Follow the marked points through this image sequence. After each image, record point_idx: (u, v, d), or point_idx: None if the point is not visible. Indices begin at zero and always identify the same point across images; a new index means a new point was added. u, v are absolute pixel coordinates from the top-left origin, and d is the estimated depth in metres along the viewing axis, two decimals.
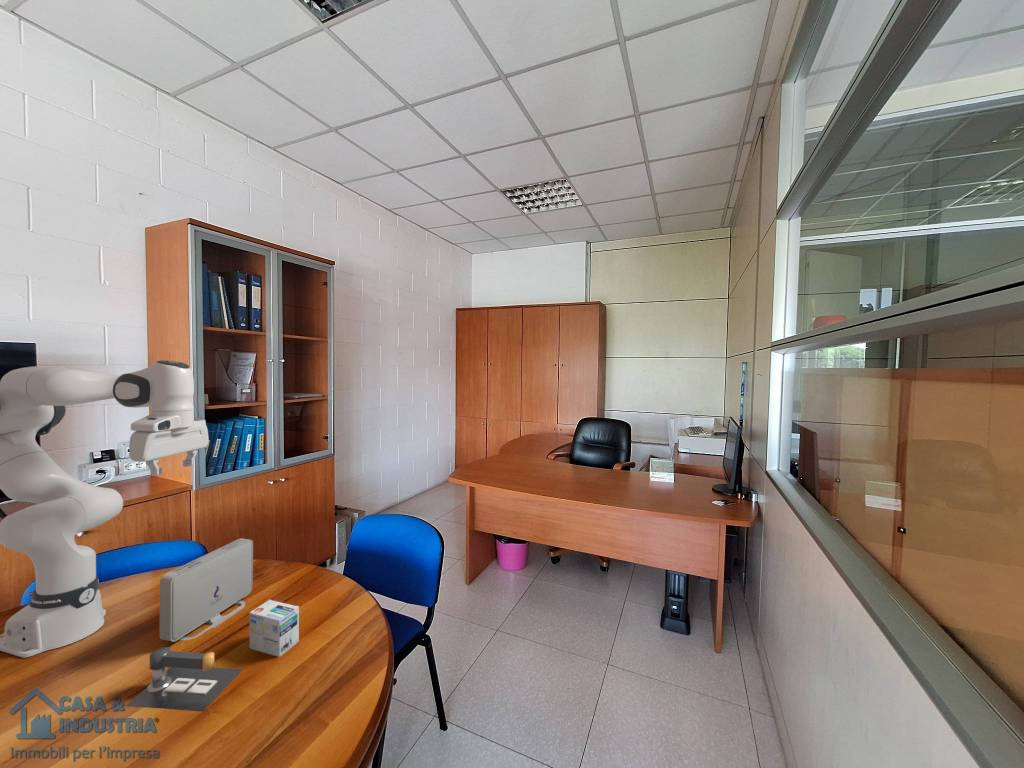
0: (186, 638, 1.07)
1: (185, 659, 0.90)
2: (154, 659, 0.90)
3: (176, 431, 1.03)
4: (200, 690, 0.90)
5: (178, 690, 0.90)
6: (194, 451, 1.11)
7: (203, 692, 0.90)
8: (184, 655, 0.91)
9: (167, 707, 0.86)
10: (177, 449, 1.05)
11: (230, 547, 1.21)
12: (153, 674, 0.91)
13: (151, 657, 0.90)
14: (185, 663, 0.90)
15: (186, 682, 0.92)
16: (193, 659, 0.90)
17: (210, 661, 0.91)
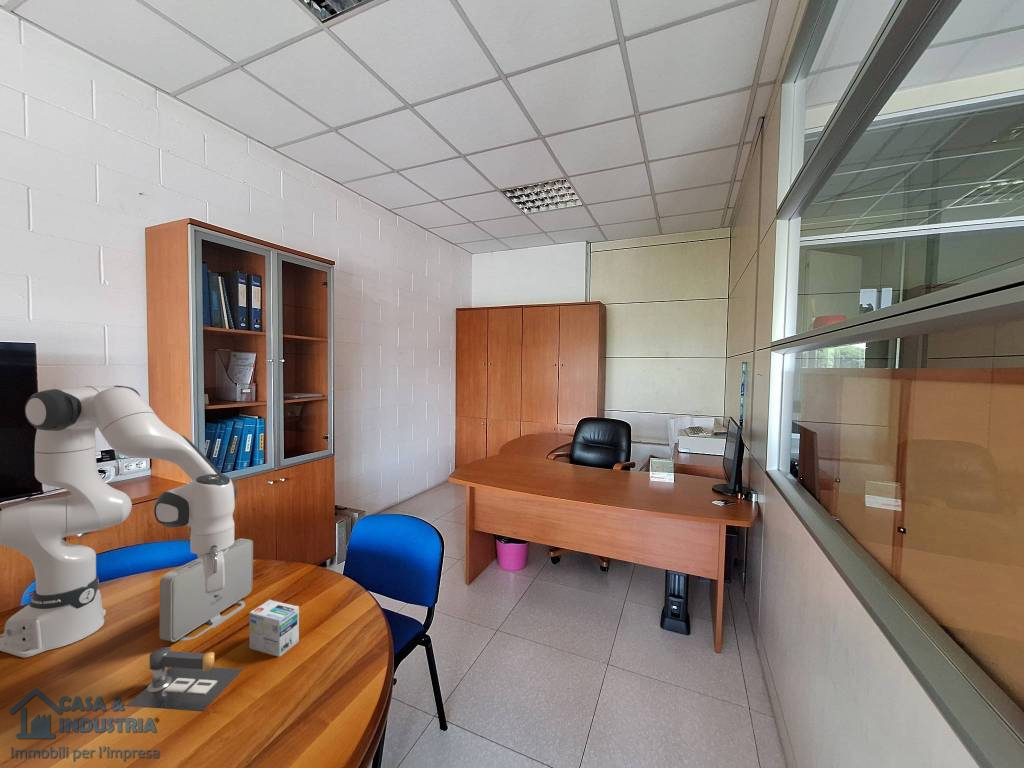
0: (186, 638, 1.07)
1: (185, 659, 0.90)
2: (154, 659, 0.90)
3: None
4: (200, 690, 0.90)
5: (178, 690, 0.90)
6: None
7: (203, 692, 0.90)
8: (184, 655, 0.91)
9: (167, 707, 0.86)
10: (203, 571, 0.97)
11: (230, 547, 1.21)
12: (153, 674, 0.91)
13: (151, 657, 0.90)
14: (185, 663, 0.90)
15: (186, 682, 0.92)
16: (193, 659, 0.90)
17: (210, 661, 0.91)
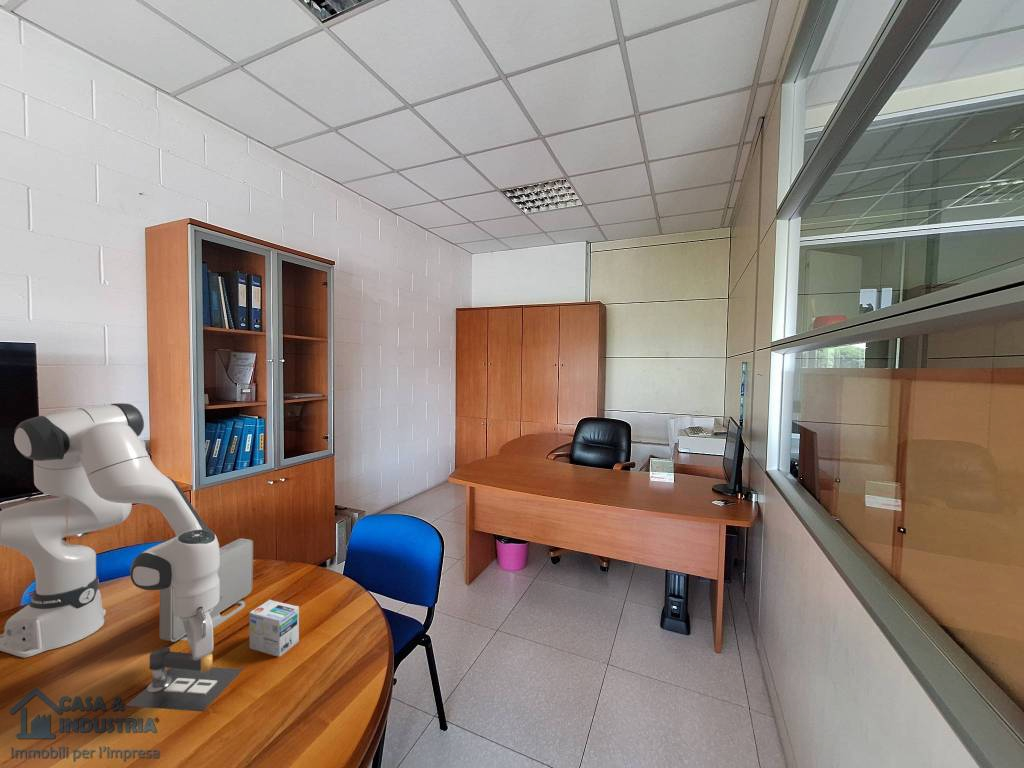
0: (186, 638, 1.07)
1: (183, 660, 0.90)
2: (153, 659, 0.90)
3: None
4: (200, 690, 0.90)
5: (178, 690, 0.90)
6: None
7: (203, 692, 0.90)
8: (183, 656, 0.91)
9: (167, 707, 0.86)
10: (186, 633, 0.92)
11: (230, 547, 1.21)
12: (153, 674, 0.91)
13: (151, 657, 0.90)
14: (183, 664, 0.90)
15: (186, 682, 0.92)
16: (192, 661, 0.90)
17: (208, 663, 0.90)
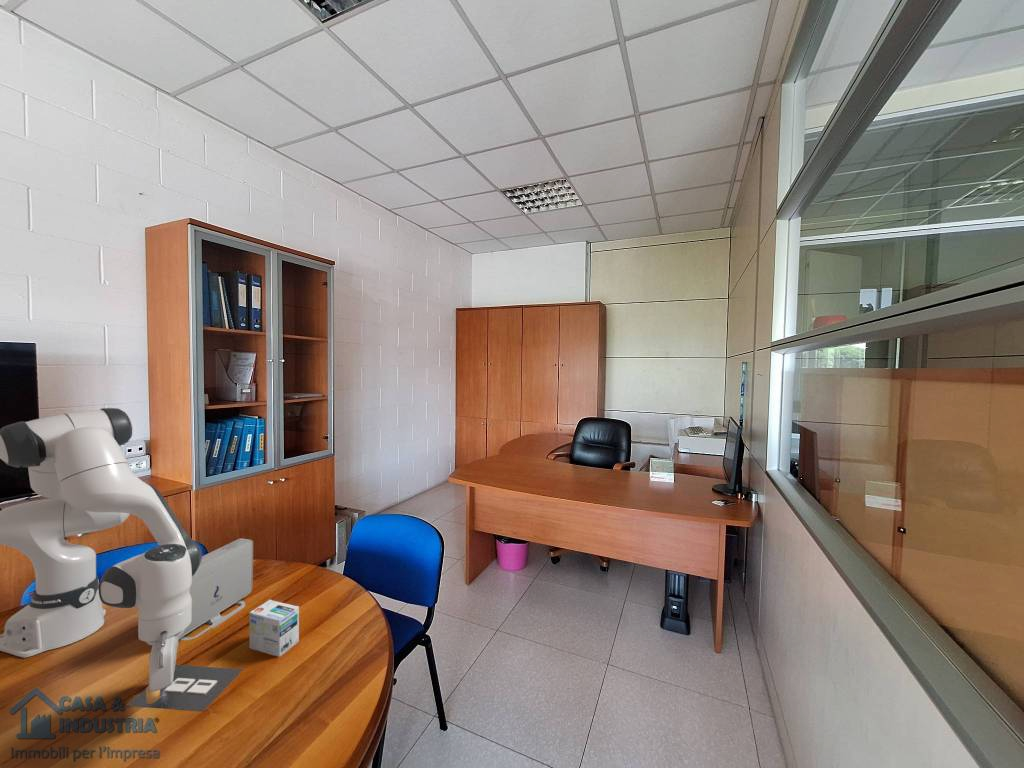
0: (186, 638, 1.07)
1: None
2: None
3: None
4: (200, 690, 0.90)
5: (178, 690, 0.90)
6: None
7: (203, 692, 0.90)
8: None
9: (167, 707, 0.86)
10: None
11: (230, 547, 1.21)
12: None
13: None
14: None
15: (186, 682, 0.92)
16: None
17: (149, 694, 0.81)
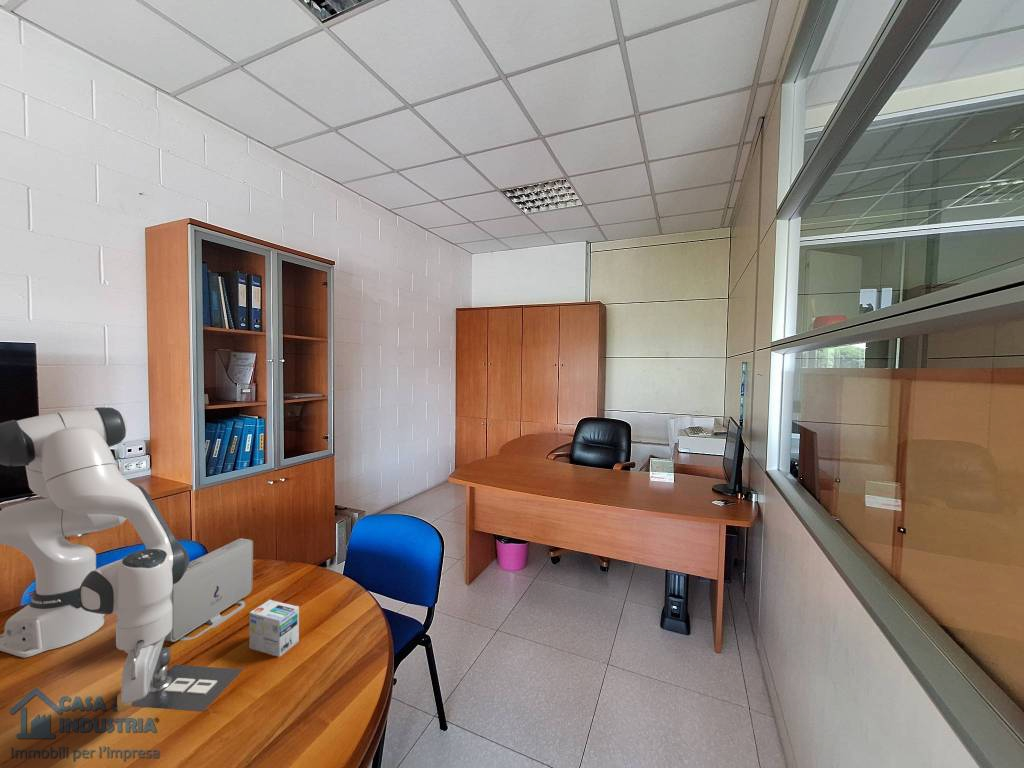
0: (186, 638, 1.07)
1: None
2: None
3: None
4: (200, 690, 0.90)
5: (178, 690, 0.90)
6: None
7: (203, 692, 0.90)
8: None
9: (167, 707, 0.86)
10: None
11: (230, 547, 1.21)
12: None
13: None
14: None
15: (186, 682, 0.92)
16: None
17: (118, 702, 0.79)
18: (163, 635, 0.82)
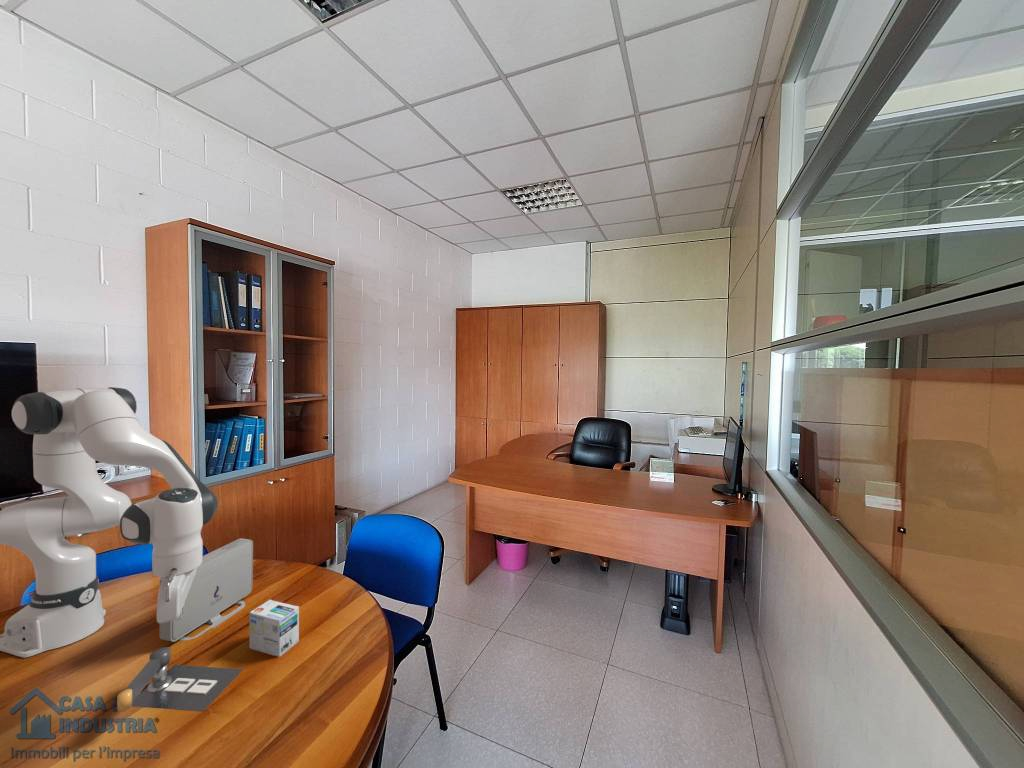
0: (186, 638, 1.07)
1: None
2: None
3: None
4: (200, 690, 0.90)
5: (178, 690, 0.90)
6: None
7: (203, 692, 0.90)
8: (142, 673, 0.86)
9: (167, 707, 0.86)
10: None
11: (230, 547, 1.21)
12: None
13: (153, 652, 0.92)
14: None
15: (186, 682, 0.92)
16: None
17: (118, 702, 0.79)
18: (194, 566, 0.89)
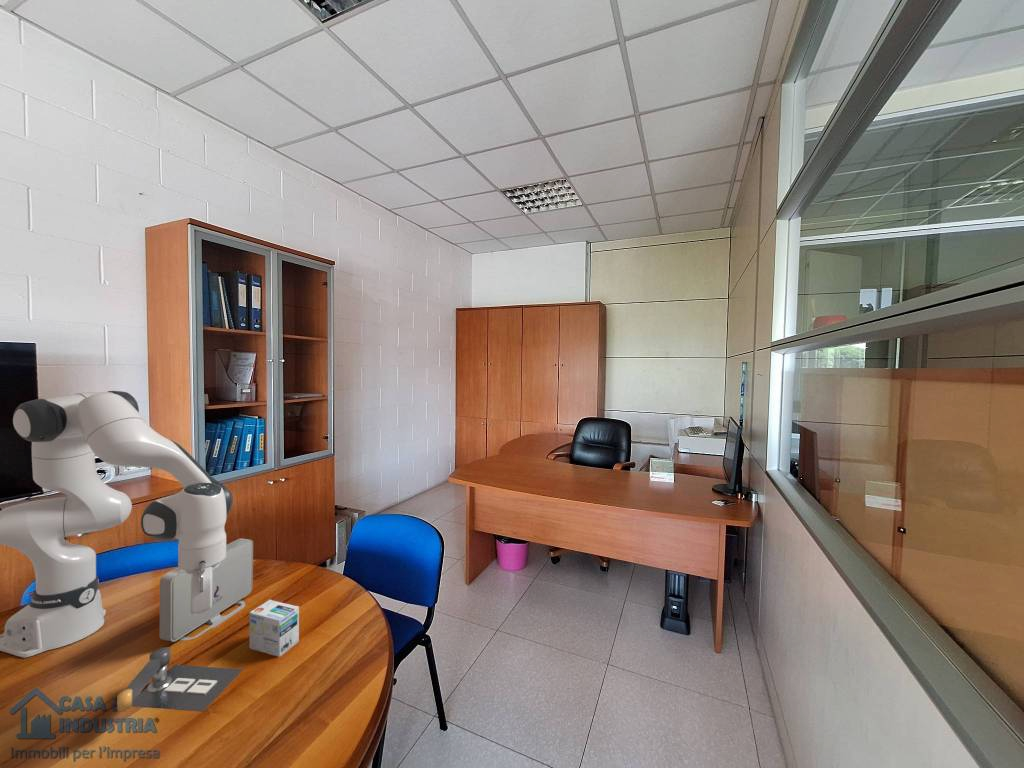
0: (186, 638, 1.07)
1: None
2: None
3: None
4: (200, 690, 0.90)
5: (178, 690, 0.90)
6: None
7: (203, 692, 0.90)
8: (142, 673, 0.86)
9: (167, 707, 0.86)
10: None
11: (230, 547, 1.21)
12: None
13: (153, 652, 0.92)
14: None
15: (186, 682, 0.92)
16: None
17: (118, 702, 0.79)
18: (220, 559, 0.90)
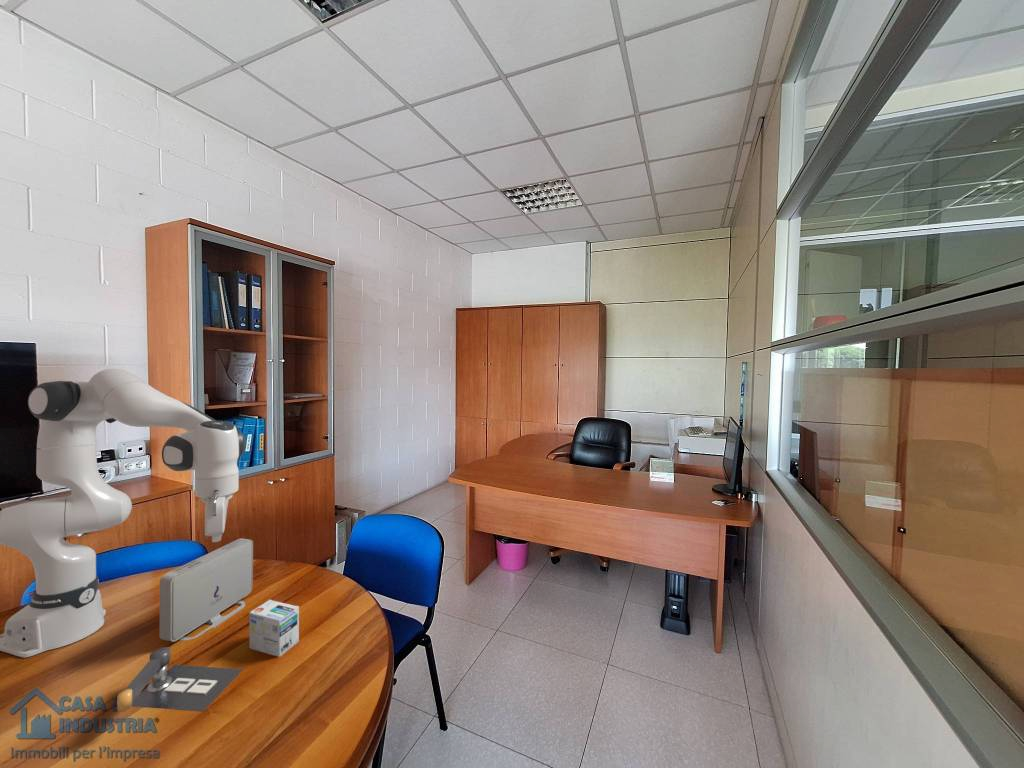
0: (186, 638, 1.07)
1: None
2: None
3: None
4: (200, 690, 0.90)
5: (178, 690, 0.90)
6: None
7: (203, 692, 0.90)
8: (142, 673, 0.86)
9: (167, 707, 0.86)
10: None
11: (230, 547, 1.21)
12: None
13: (153, 652, 0.92)
14: None
15: (186, 682, 0.92)
16: None
17: (118, 702, 0.79)
18: (233, 491, 0.97)
